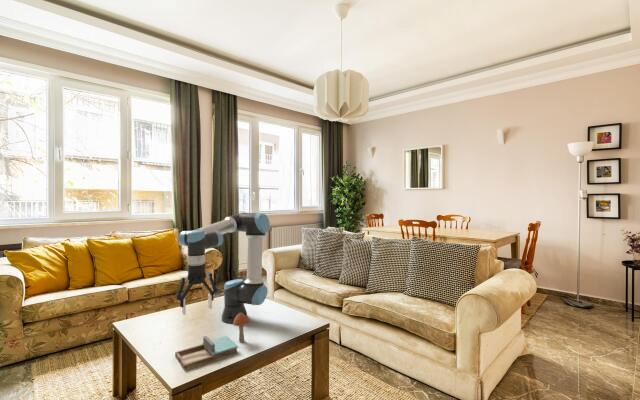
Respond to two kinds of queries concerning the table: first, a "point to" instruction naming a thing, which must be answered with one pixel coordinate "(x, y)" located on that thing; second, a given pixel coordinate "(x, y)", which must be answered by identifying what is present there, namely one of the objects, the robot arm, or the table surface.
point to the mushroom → (240, 324)
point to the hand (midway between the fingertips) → (197, 310)
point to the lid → (219, 344)
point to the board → (199, 356)
